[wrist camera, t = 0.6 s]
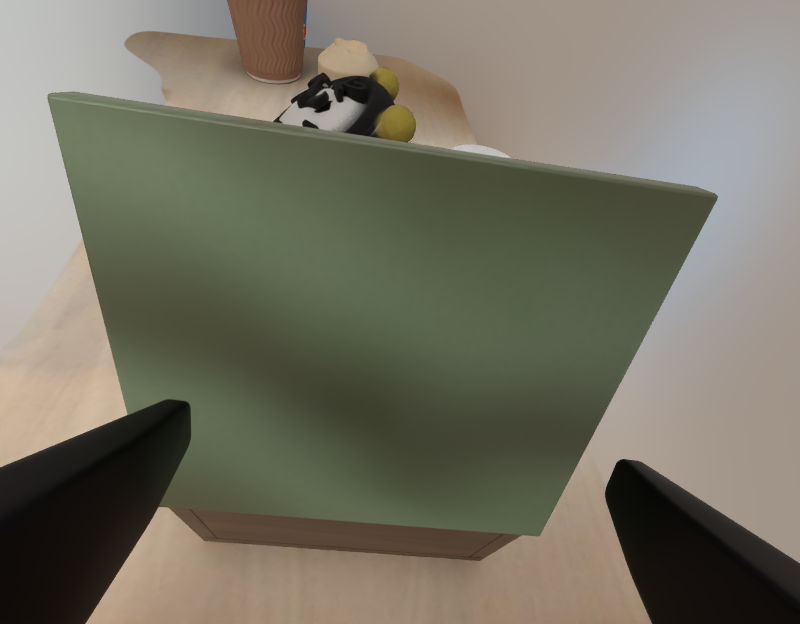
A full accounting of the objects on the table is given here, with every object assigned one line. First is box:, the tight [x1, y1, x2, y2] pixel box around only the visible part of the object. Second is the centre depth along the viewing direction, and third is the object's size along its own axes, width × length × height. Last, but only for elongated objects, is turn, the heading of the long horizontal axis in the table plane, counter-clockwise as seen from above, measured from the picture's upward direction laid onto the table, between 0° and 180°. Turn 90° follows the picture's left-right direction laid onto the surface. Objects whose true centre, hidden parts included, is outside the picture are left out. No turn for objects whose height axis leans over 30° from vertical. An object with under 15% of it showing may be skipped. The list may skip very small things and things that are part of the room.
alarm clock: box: [273, 68, 416, 142], centre depth 33 cm, size 12×15×15 cm
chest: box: [169, 507, 521, 561], centre depth 21 cm, size 12×14×7 cm
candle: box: [318, 38, 379, 81], centre depth 40 cm, size 6×6×10 cm
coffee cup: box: [227, 0, 307, 84], centre depth 49 cm, size 10×10×12 cm
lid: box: [48, 92, 718, 536], centre depth 12 cm, size 12×14×1 cm
